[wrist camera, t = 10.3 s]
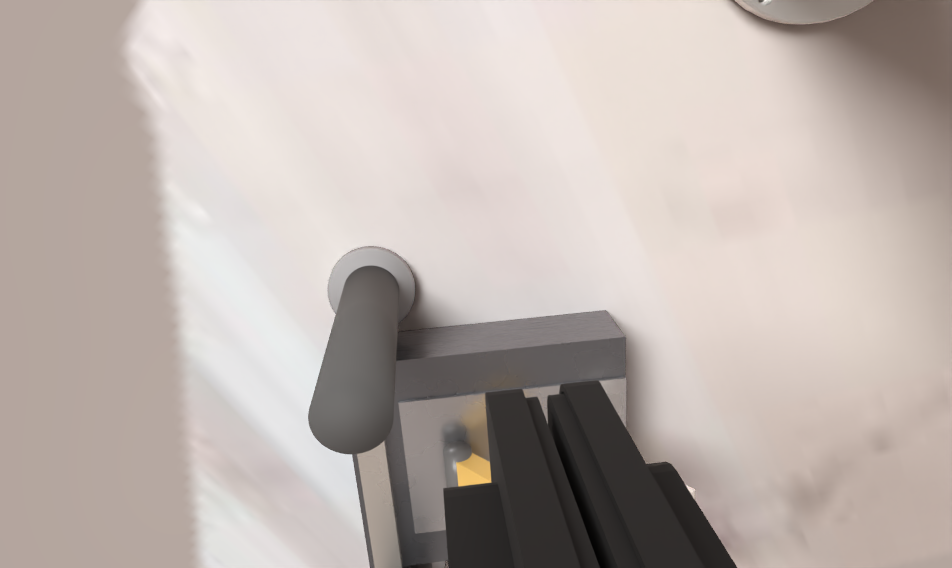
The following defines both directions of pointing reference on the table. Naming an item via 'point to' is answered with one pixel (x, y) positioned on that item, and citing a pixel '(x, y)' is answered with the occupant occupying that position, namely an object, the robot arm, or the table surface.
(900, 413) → the table surface
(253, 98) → the table surface
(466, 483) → the paddle amber
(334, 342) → the post near
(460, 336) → the breaker panel
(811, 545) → the table surface
